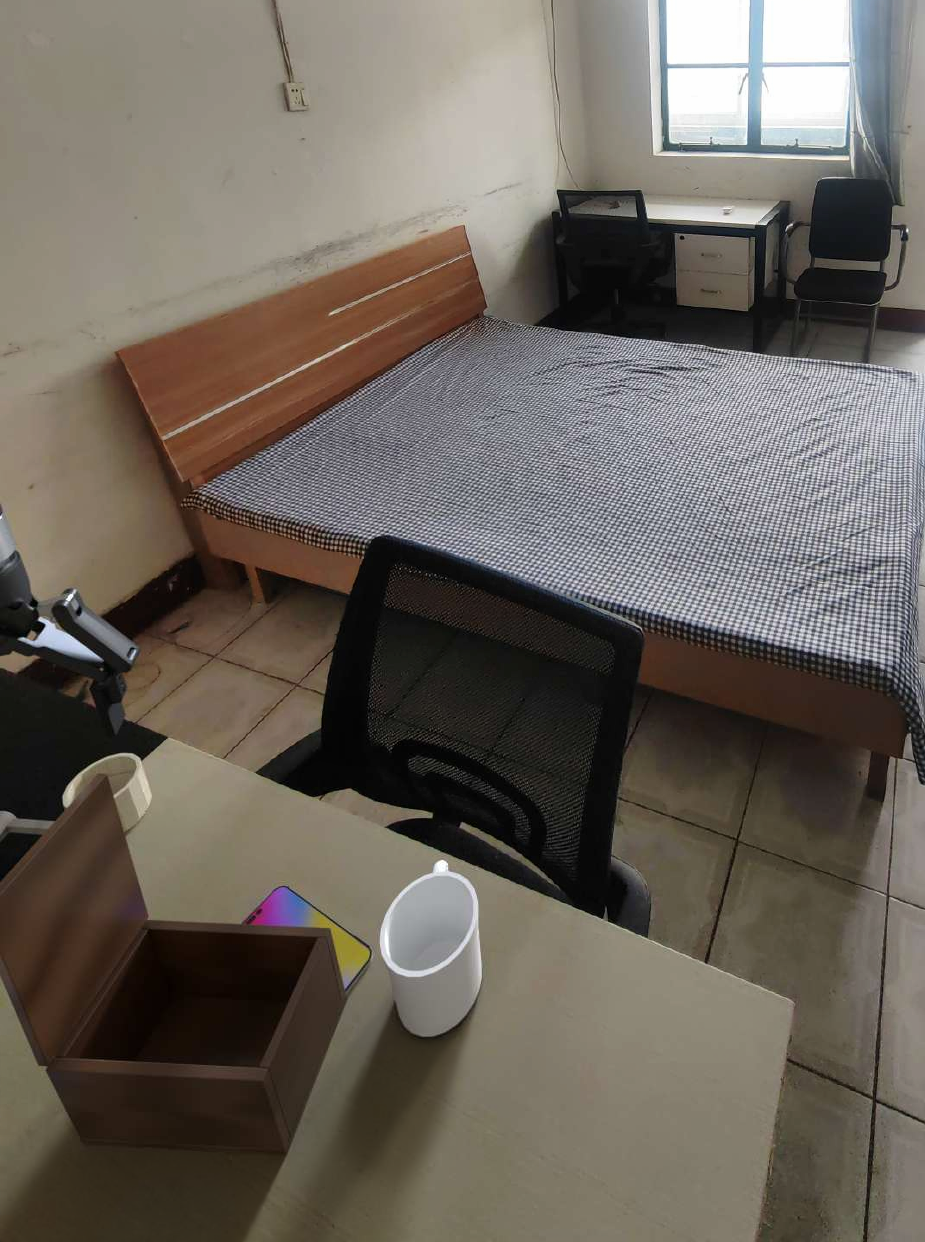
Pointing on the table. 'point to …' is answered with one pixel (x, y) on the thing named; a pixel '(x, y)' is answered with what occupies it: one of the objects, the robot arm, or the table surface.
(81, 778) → the bowl
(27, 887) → the lid
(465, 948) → the mug
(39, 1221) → the table surface
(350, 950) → the smartphone
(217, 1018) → the wooden box
